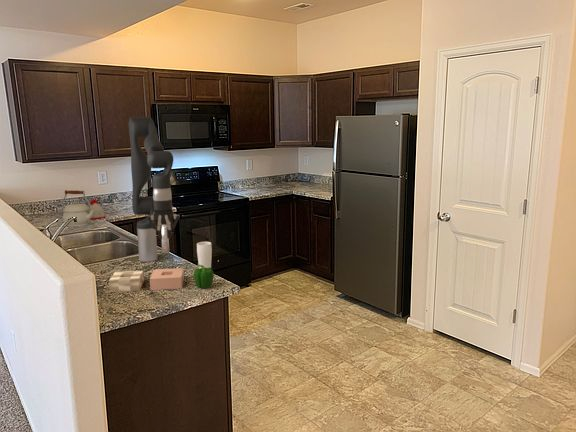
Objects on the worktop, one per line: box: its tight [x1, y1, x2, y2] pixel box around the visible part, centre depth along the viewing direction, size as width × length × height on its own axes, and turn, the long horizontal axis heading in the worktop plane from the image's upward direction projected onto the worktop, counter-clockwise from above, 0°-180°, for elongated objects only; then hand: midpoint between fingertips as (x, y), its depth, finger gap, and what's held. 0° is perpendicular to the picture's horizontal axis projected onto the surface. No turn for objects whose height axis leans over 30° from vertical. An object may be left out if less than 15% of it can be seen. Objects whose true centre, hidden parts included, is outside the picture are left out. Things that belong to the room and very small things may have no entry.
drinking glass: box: [196, 241, 213, 269], centre depth 207 cm, size 7×7×15 cm
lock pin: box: [160, 223, 170, 254], centre depth 191 cm, size 3×3×12 cm
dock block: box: [149, 267, 185, 291], centre depth 195 cm, size 13×13×5 cm
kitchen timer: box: [87, 198, 106, 221], centre depth 343 cm, size 14×14×15 cm
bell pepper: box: [193, 264, 215, 289], centre depth 191 cm, size 8×8×10 cm
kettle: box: [60, 189, 95, 228], centre depth 318 cm, size 25×18×25 cm
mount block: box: [108, 270, 145, 293], centre depth 192 cm, size 12×12×5 cm
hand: (164, 238), depth 191 cm, fingers closed on lock pin, 3 cm apart
